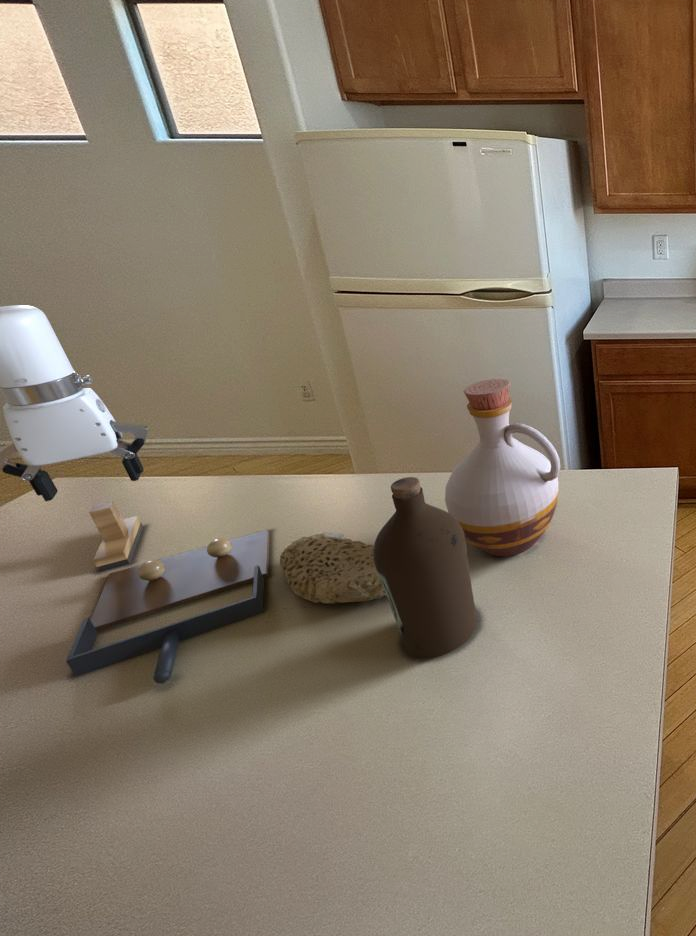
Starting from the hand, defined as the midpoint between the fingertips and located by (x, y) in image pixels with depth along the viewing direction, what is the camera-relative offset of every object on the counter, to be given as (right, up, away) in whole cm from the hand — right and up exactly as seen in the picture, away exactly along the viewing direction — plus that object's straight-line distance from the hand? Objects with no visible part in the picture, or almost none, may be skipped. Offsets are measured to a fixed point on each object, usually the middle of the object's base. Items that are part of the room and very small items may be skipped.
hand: (95, 486), depth 89 cm
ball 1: (+13, -12, -4) cm, 18 cm away
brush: (0, -12, +5) cm, 13 cm away
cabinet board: (+17, -15, -1) cm, 22 cm away
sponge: (+42, -15, -2) cm, 45 cm away
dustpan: (+26, -20, -13) cm, 35 cm away
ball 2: (+19, -10, +2) cm, 21 cm away
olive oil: (+61, -19, -11) cm, 65 cm away
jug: (+65, -11, +8) cm, 67 cm away
